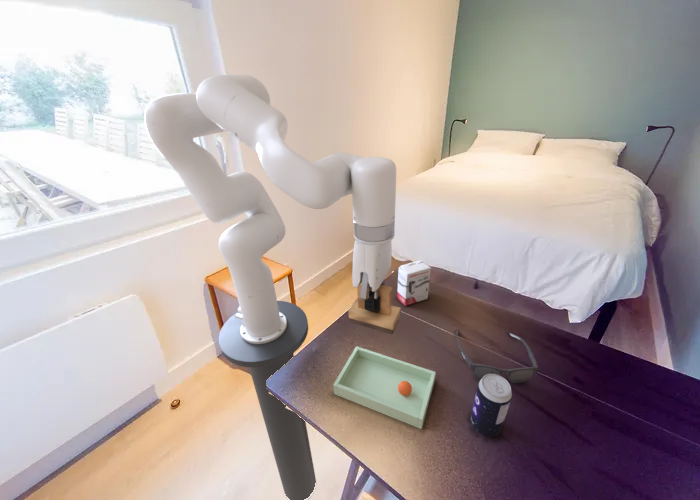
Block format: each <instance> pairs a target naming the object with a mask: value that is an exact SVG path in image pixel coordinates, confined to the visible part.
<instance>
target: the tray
mask: <svg viewBox="0 0 700 500" xmlns="http://www.w3.org/2000/svg"><path fill="white" fill-rule="evenodd" d="M436 374H437V372H436V371H434V370H431V369H429V368H425V367H422V366H418V365H416V364H412V363H409V362H406V361H404V360H400V359H397V358H394V357H391V356H388V355H385V354H382V353H379V352H375V351H372V350H369V349H366V348H364V347H361V346H357V345H356V346H355V348H353V351H352V352H351V354H350V356H349V358H348V359H347V361H346V363H345V364H344V366H343V368H342V370H341V371H340V373H339V375H338V376H337V377H336V379H335V381H334V383H333V395H336V396H338V397H341V398H343V399H345V400H347V401H350V402H353V403H355V404H358V405H360V406H363V407H365V408H367V409H370V410H373V411H375V412H377V413H380V414H383V415H385V416H388V417H390V418H393V419H394V420H398V421H400V422H402V423H405V424H408V425H410V426H412V427H415V428H417V429H420V430H422V429H423V426H424V423H425V419H426V414H427V411H428V407H429V403H430V401H431V396H432V393H433V389H434V386H435V382H436V376H437V375H436ZM402 381H407V382H409V383H410V384H411V386H412V392H411V394H410V395H408V396H403V395H401V394H400V393H399V391H398V385H399V383H400V382H402Z"/></svg>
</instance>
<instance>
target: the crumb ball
mask: <svg viewBox="0 0 700 500" xmlns="http://www.w3.org/2000/svg"><path fill="white" fill-rule="evenodd" d="M398 391H399V393H400V394H401V395H403V396H408V395H410V394H411V392H412V386H411V384H410V383H409V382H407V381H402V382H400V383H399V385H398Z"/></svg>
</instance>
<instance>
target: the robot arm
mask: <svg viewBox="0 0 700 500" xmlns="http://www.w3.org/2000/svg"><path fill="white" fill-rule="evenodd" d="M143 114H144V115H143V119H144V126H145V129H146V133H147V135H148V137H149V139H150V141H151V143H152V145H153V146H154V147H155V149H156V150H157V151H158V153H159V154H160V155H161V157H162V158H164V160H166V162H167V163H168V164H169V165H170V166H171V167H172V169H174V171H175V172H176V173H177V174H178V176H179V177H180V179H181V181H182V182H183V184H184V185H185V187H186V188H187V191H188V192H189V193H190V195H191V196H192V198H193V200H194V201H195V202H196V204H197V206H198V207H199V209H200V210H201V212H202V213H203V214H204V216H205V217H206V218H207V219H208V220H209V221H210V222H212V223H213V224H223V223H227V222H229V221H231V220H233V219H236V218H238V217H239V216H241V215H243V214H245V215H246V216H247V218H245V219H242V220H240V221H238V222H237V223H235V224H233V225H232V226H230V227H229V228H227V229H226V230H225V231H223V233H222V234H221V235H220V237H219V240H218V250H219V252H220V254H221V256H222V258H223V260H224V262H225V264H226V266H227V269H228V270H229V271H228V272H229V273H230V276H231V280H232V284H233V287H234V290H235V294H236V298H237V302H238V305H239V306H238V307H237V312H240V313H242V314H239V313H237V312H236V313H237V314H236V315H235V317H236V318H238V319H241V321H242V325H241V328H240V333H241V336H242V338H243V339H244V340H245V341H246V342H248V343H252V344H264V343H268V342H271V341H273V340H275V339H277V338H278V337H279V336H281V335H282V334H283V333H284V331H285V329H286V327H287V320H286V317H285V316H284V315H283V314H282V313H280V312H279V309H278V304H277V301H278V299H277V294H276V289H275V283H274V279H273V274H272V270H271V268H270V266H269V265H268V264H267V263H266V262H264V261H263V256H264V255H265V254H266V253H268V252H269V251H270V250H272V249H273V248H275V247H276V246H277V245H278V244H279V243H281V242H282V241H283V239H284V238H285V236H286V226H285V222H284V220H283V217H282V216H281V214H280V212H279V211H278V209H277V207H276V206H275V204H274V202H273V201H272V199H271V197H270V195H269V194H268V192H267V190H266V188H265V186H264V185H263V183H262V182H261V181H260V180H259V179H258V178H257V177H256V176H255V175H253V174H252V173H250V172H248V171H237V172H233V173H231V174H228V175H227V174H226V173H225V172H224V170H223V169H222V167H221V165H219V162H218V160H217V159H216V158H215V157H214V155H213V154H211V152H210V151H208V150H207V149H206V148H205V147H203V146H201V145H200V144H198V143H197V142H195V141H194V139H195V138H200V137H206V136H210V135H215V134H220V133H224V132H227V134H229V135H231V136H233V137H234V138H235V139H237V140H238V141H239V142H241V143H243V144H244V145H245V146H247V147H248V148H250V149H251V150H253V151H254V152H255V153H256V154H257V155H258V159H259V161H260V166H261V167H262V169H263V171H264V173H265V175H266V176H267V178H268V179H269V181H271V183H272V184H273V185H274V186H275V187H276V188H277V189H279V190H280V191H281V192H282V193H284V194H286V195H287V196H288V197H290V198H291V199H293V200H294V201H296V202H297V203H299V204H301V205H302V206H305V207H307V208H311V209H314V210H323V209H327V208H330V206H332V205H333V204H335V203H337V202H338V201H339V200H340V199H341V198H344V197H346V196H348V195H351V201H352V203H351V205H352V227H353V238H354V239H355V240H354V243H353V251H352V269H351V270H352V273H351V274H352V276H351V277H352V280H351V281H352V287H353V288H356V289H357V288H358V286H359V285H360V283H361V282H362V284H361V292H360V298H362V299H365V310H368V311H372V312H375V313H379V312H380V296H378V288H379V286H380V285H384V286H386V285H385V284H386V282H385V280H386V277H387V275H388V274H389V272H390V271H391V267H392V260H393V259H392V255H393V253H392V252H393V249H392V248H393V246H392V245H393V244H392V241H393V239H395V232H396V231H395V230H396V229H395V226H396V201H397V200H396V199H397V197H396V195H397V166H396V163H395V162H394V161H393V160H392V159H391V158H387V157H384V156H383V157H382V156H381V157H380V156H369V157H365V156H361V155H360V156H359V155H357V154H356V155H355V154H352V153H348V152H340V151H339V152H335V153H331V154H329V155H326V156H324V157H322V158H320V159H317V160H315V161H312V162H311V160H308V159H307V158H305V157H304V156H302V155H300V154H299V153H297V152H296V151H294V150H293V149H292V148H291V147H290V146H289V145H288V144H287V143H286V142H285V139H286V135H287V133H288V120H287V117H286V116H285V114H284V113H283V112H282V111H280V110H279V109H277V108H275V107H274V106H272V105H271V97H270V94H269V91H268V89H267V88H266V86H265V84H263V82H261V81H260V79H258V78H257V77H254V76H252V75H249V74H217V75H212V76H211V75H210V76H209V77H207V78H205V79H204V80H202V81H201V82H200V83H199V85H198V87H197V90H196V92H182V93H171V94H165V95H162V96H157V97H156V98H153V99H152V100H150V101H149V102H148V103H147V105H146V106H145V109H144V112H143ZM369 288H371V290H372V291H371V290H369Z"/></svg>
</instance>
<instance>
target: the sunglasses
mask: <svg viewBox="0 0 700 500" xmlns="http://www.w3.org/2000/svg"><path fill="white" fill-rule="evenodd" d="M458 334H459V330H456V332H455V339H456V342H457V346H458V349H459V351H460V352H459V353H460V355H461V357H462V358H463V359H464V361H465V362H466V364H467V366H468V367H469V369H471V372H472V373H473V376H474V378H475V379H477V380H479V381H480V380H481V379H482V378H483V377H484V376H485V375H487V374H496V375H499V376H501V377H503V375H504V373H506V376H507V379H508V381H509V382H510V383H512V384H522V383H526V382H528V381H529V380H530V379H532V378H533V376H534V375H535V374H536V373H537V372H538V370H539V366H538V363H537V361H536V358H535V356H534V353H533V352H532V351H533V350H532V349H531V347H530V346H529V344H528V343H527V341H526V340H524V339H523V338H522V337H520V336H519V335H517V334H514V333H513V332H508V334H509V335H510V336H511V338H514V339H517V340H519V341H520V342H521V343H523V345H524V347H525V348H526V351H527V353H528V357H529V360H530V361H531V363H532V366H527V367H524V366H523V367H515V368H500V367H496V366H493V365H487V364H481V363H475V362H474V363H473V362H472V360H471V359H470V358H469V356H468V355H467V353H466V352H465V351H464V348H463V347H462V344H461V343H460V340H459V338H458V337H459V336H458Z"/></svg>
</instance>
